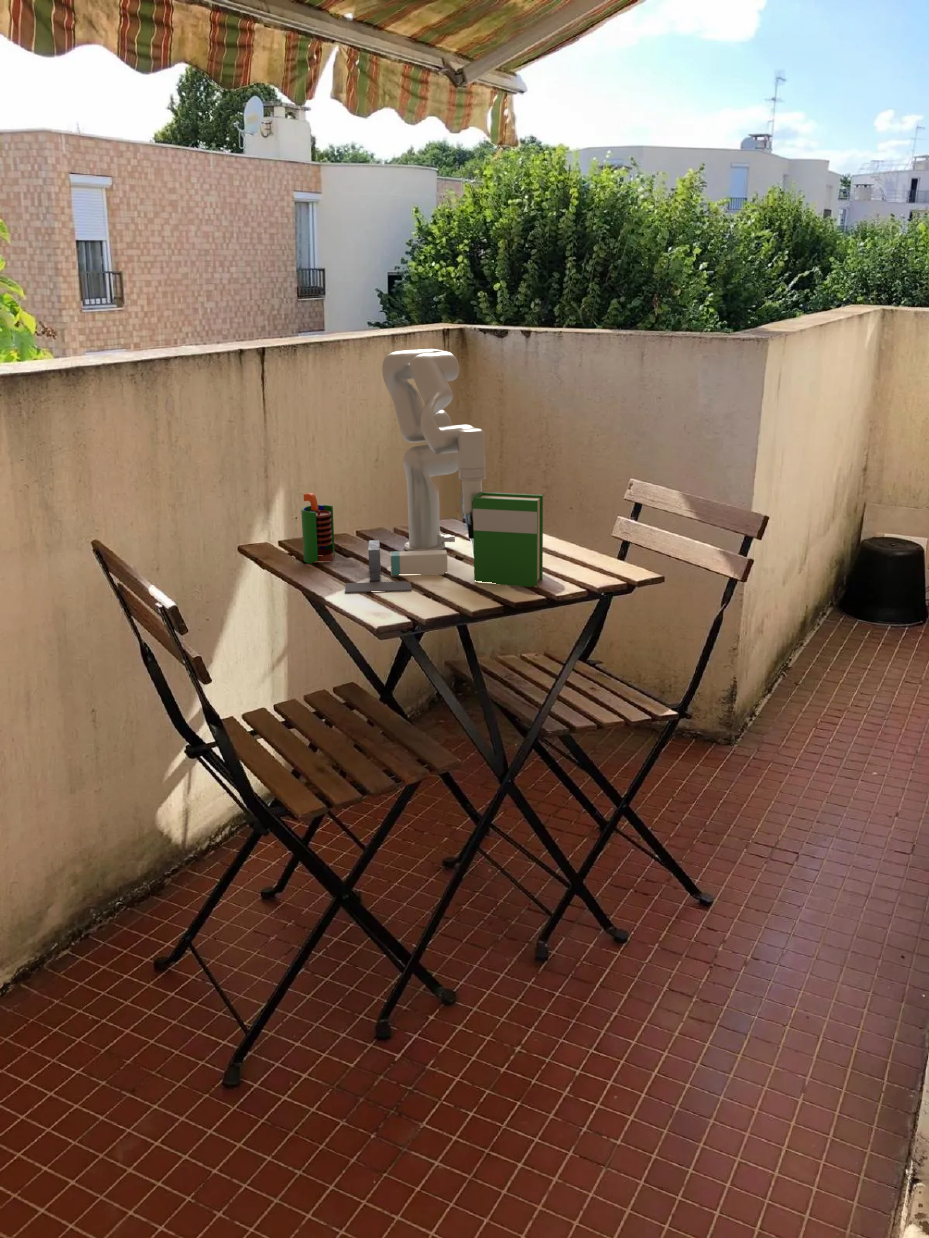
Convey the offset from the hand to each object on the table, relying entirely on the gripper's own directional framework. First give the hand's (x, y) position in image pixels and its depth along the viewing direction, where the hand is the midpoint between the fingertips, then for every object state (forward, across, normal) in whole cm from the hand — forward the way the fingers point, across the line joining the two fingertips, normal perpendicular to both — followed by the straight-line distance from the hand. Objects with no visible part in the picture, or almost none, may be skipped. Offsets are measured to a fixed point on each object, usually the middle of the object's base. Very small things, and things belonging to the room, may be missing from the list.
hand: (474, 537), depth 311 cm
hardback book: (+11, +10, +8) cm, 17 cm away
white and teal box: (+10, -1, -16) cm, 19 cm away
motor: (+9, -19, -46) cm, 50 cm away
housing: (+10, -1, -28) cm, 30 cm away
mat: (+10, +12, -28) cm, 32 cm away
